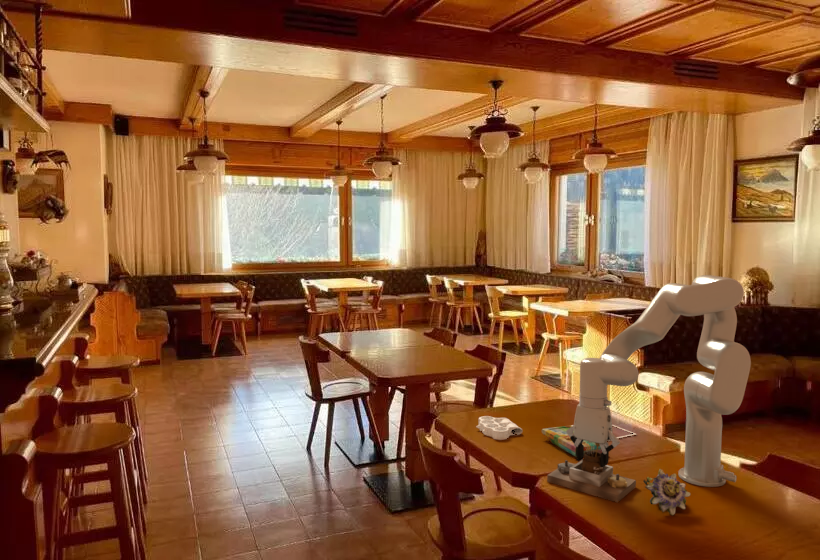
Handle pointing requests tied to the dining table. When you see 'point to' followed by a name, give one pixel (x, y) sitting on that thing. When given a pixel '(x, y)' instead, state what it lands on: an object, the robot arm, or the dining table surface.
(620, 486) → the gear board
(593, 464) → the utensil holder
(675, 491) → the passion flower
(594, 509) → the dining table surface
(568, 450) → the puzzle game
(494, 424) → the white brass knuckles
